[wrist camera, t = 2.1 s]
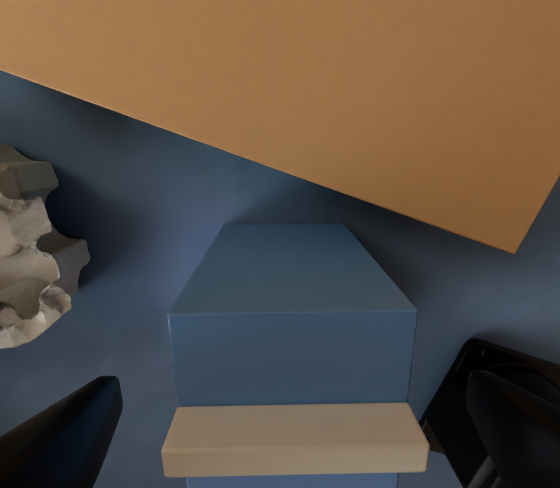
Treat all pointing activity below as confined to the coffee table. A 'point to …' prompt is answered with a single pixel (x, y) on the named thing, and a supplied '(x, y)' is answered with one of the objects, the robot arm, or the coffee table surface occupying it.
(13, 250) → the egg carton
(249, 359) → the carton
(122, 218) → the coffee table surface
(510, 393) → the robot arm
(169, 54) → the board
